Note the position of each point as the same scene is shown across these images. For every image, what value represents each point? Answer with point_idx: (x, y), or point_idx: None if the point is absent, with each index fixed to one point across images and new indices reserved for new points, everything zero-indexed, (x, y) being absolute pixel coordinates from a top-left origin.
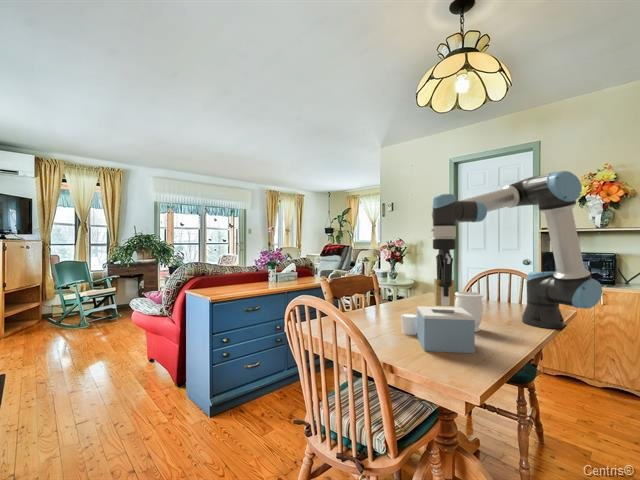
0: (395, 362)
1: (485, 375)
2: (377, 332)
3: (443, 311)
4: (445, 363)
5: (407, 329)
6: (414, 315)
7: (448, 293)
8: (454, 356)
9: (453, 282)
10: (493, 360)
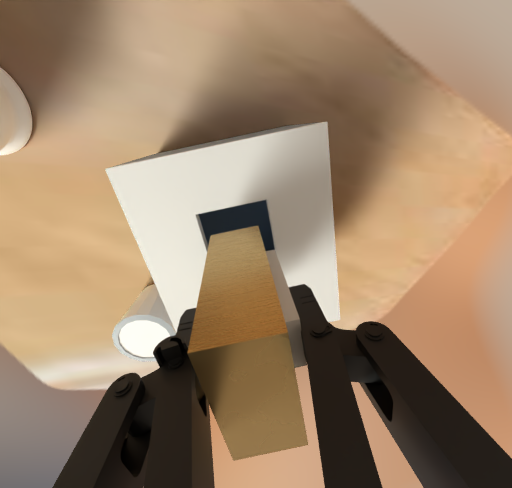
0: (384, 303)
1: (440, 120)
2: None
3: None
4: (376, 210)
5: None
6: (132, 326)
7: (314, 297)
8: None
9: (284, 322)
10: (334, 72)
